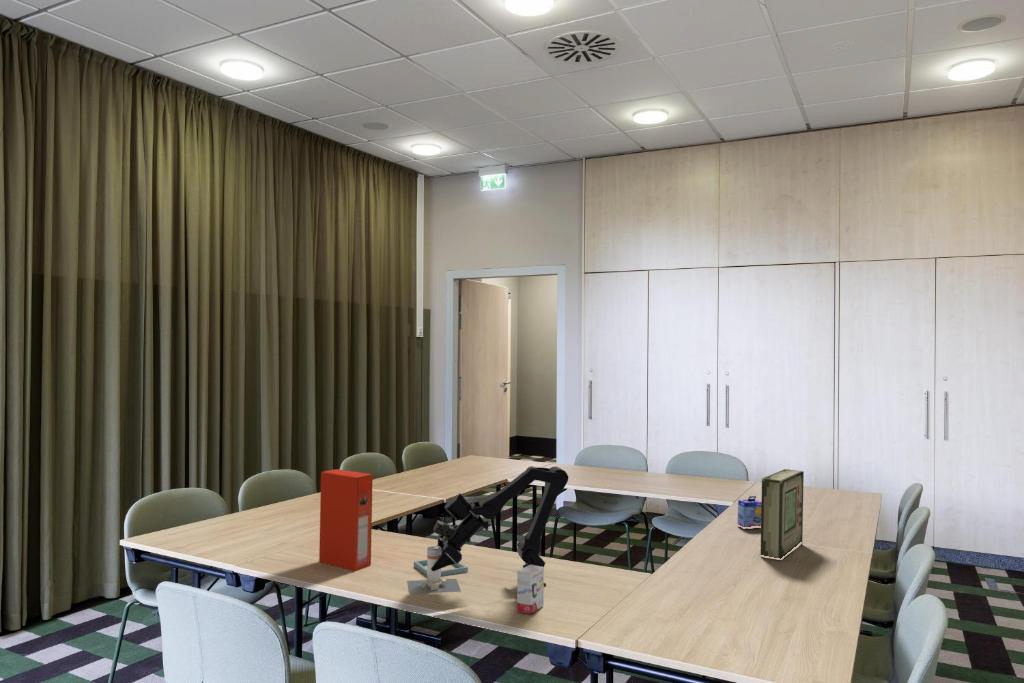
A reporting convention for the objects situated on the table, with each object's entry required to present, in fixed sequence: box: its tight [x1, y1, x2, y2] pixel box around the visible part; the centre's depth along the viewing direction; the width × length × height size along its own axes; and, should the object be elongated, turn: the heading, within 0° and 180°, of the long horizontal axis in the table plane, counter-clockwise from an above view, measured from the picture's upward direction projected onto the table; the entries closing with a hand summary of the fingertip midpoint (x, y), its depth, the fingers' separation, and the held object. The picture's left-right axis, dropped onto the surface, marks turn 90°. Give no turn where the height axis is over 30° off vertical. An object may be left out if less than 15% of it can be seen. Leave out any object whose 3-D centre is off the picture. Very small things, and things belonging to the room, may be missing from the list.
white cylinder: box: [426, 545, 442, 588], centre depth 220 cm, size 5×5×12 cm
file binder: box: [318, 468, 374, 572], centre depth 243 cm, size 8×17×32 cm, turn 59°
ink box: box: [516, 565, 545, 615], centre depth 205 cm, size 9×5×12 cm, turn 150°
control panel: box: [760, 468, 805, 559], centre depth 274 cm, size 30×8×30 cm, turn 143°
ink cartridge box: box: [737, 495, 762, 527], centre depth 309 cm, size 10×6×14 cm, turn 107°
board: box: [406, 578, 462, 595], centre depth 220 cm, size 16×12×3 cm
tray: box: [413, 559, 469, 577], centre depth 237 cm, size 14×14×2 cm
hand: (430, 565), depth 220 cm, fingers open, 9 cm apart
